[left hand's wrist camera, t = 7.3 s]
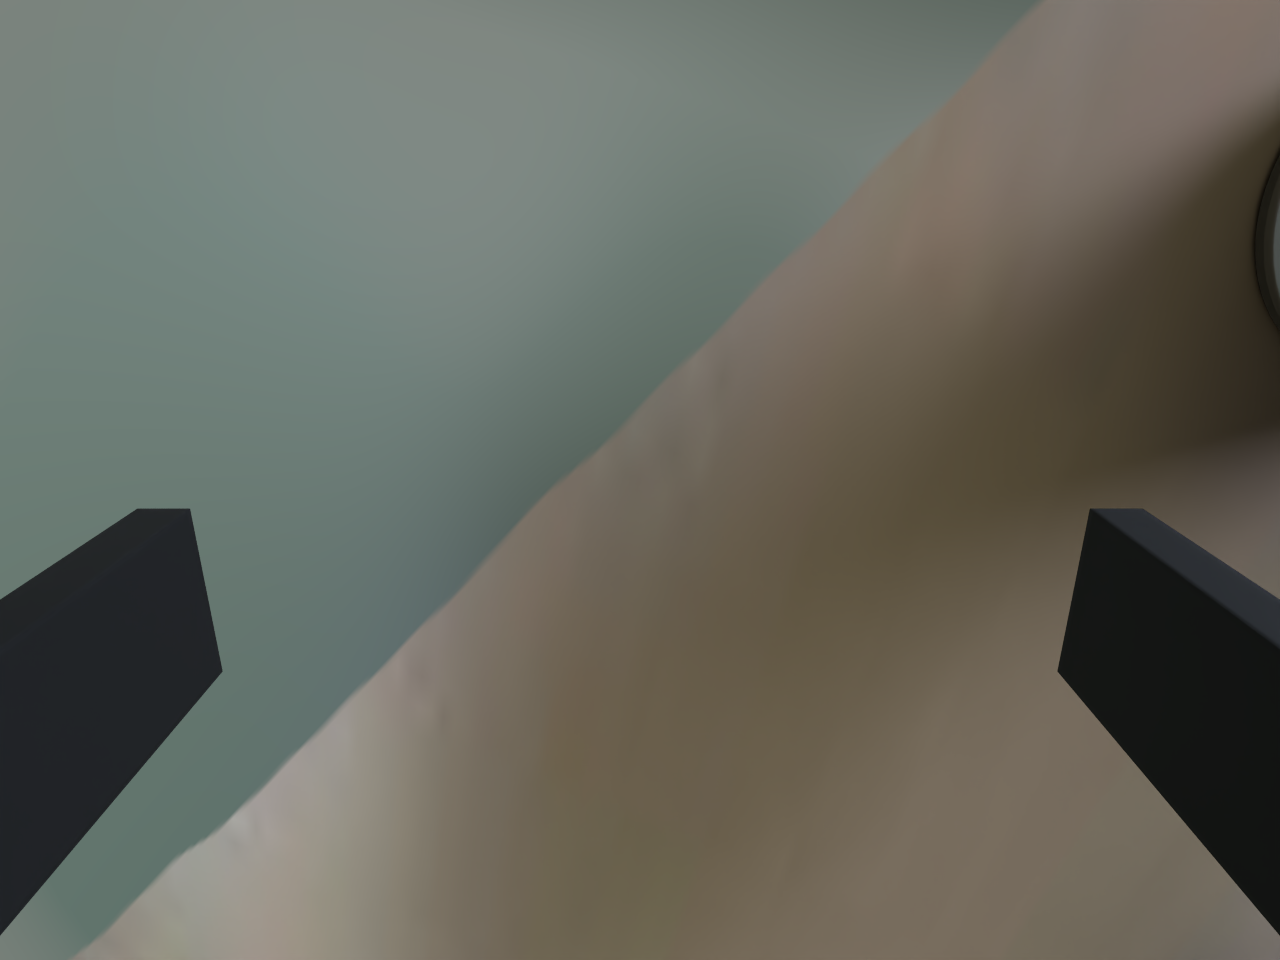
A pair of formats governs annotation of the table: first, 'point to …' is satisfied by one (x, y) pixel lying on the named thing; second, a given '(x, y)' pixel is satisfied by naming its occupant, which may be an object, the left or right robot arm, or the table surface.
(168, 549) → the left robot arm
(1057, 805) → the table surface
